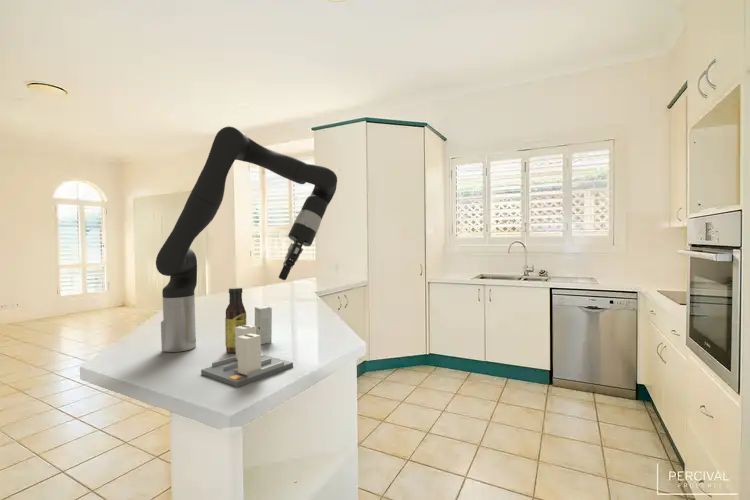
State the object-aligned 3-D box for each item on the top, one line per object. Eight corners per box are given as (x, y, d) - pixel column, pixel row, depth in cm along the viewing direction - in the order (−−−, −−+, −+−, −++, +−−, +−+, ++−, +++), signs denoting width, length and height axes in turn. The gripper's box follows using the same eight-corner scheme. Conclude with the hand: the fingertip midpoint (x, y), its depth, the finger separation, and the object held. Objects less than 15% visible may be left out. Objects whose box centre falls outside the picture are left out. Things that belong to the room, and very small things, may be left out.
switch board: (256, 357, 110) (256, 349, 110) (293, 366, 100) (292, 358, 100) (201, 374, 96) (200, 365, 96) (237, 387, 87) (237, 378, 87)
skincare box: (254, 341, 128) (253, 306, 128) (266, 339, 131) (265, 305, 130) (259, 345, 123) (258, 308, 123) (273, 342, 126) (272, 307, 125)
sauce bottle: (239, 354, 113) (237, 289, 113) (221, 353, 114) (219, 289, 114) (251, 348, 119) (249, 286, 119) (233, 347, 121) (231, 286, 120)
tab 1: (248, 355, 106) (247, 323, 106) (256, 358, 104) (256, 325, 104) (235, 359, 103) (234, 326, 103) (244, 361, 101) (243, 328, 100)
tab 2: (251, 368, 96) (250, 332, 95) (261, 370, 93) (260, 334, 93) (237, 372, 92) (236, 336, 92) (247, 375, 90) (246, 338, 90)
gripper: (290, 227, 119) (267, 276, 114) (297, 217, 107) (272, 271, 102) (312, 237, 121) (290, 286, 116) (321, 228, 109) (297, 282, 104)
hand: (281, 279), depth 109 cm, fingers closed
